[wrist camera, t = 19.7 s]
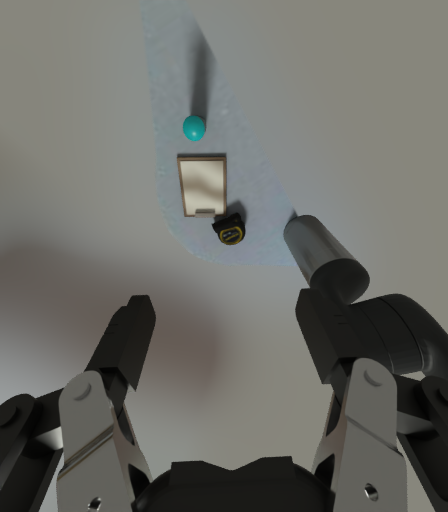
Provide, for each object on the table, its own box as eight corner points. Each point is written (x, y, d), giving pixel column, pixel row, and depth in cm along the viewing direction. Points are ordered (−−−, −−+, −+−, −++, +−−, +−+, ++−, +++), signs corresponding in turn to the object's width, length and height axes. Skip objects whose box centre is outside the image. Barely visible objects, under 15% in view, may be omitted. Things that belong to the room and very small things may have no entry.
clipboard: (225, 214, 46) (226, 217, 45) (184, 215, 46) (184, 218, 45) (225, 156, 39) (226, 158, 38) (177, 157, 39) (175, 158, 38)
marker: (210, 124, 36) (208, 127, 29) (200, 139, 37) (196, 145, 30) (196, 110, 35) (191, 109, 27) (186, 126, 36) (178, 129, 29)
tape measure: (238, 209, 46) (239, 215, 43) (248, 232, 50) (250, 240, 47) (211, 220, 47) (211, 227, 44) (223, 242, 51) (223, 250, 48)
